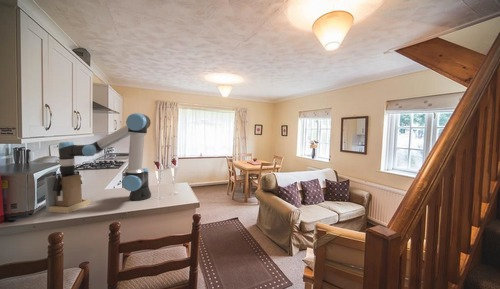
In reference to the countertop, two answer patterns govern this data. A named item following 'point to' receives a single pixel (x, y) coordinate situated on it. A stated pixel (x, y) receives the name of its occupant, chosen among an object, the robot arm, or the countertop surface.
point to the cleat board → (52, 203)
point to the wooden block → (70, 191)
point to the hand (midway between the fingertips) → (69, 197)
